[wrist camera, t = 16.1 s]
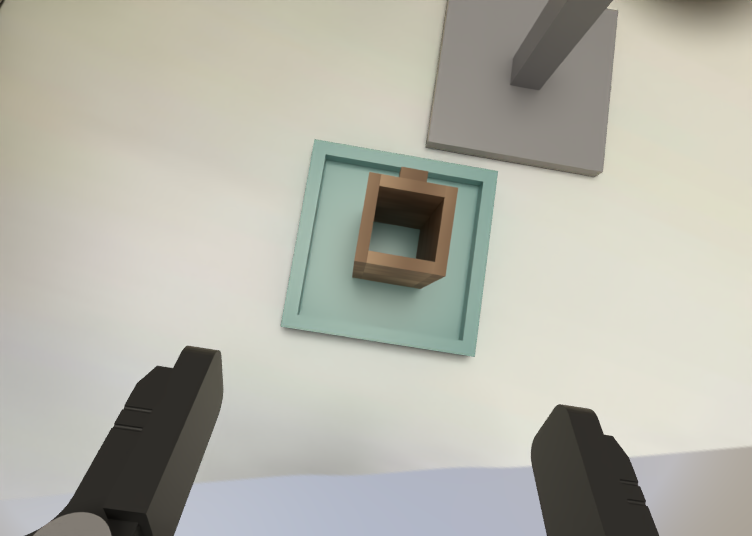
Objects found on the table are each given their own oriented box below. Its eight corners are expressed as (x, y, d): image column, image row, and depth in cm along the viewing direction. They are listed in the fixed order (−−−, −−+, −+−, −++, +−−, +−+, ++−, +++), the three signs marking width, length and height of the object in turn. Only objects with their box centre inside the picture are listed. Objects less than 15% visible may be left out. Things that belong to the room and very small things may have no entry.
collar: (352, 277, 35) (354, 260, 26) (365, 200, 36) (371, 158, 27) (420, 289, 35) (445, 276, 26) (432, 212, 36) (460, 174, 27)
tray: (284, 326, 35) (280, 326, 33) (316, 149, 37) (314, 139, 35) (467, 355, 36) (474, 356, 34) (489, 179, 38) (497, 171, 36)
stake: (425, 147, 38) (462, 63, 26) (448, -11, 39) (493, -157, 28) (594, 176, 38) (707, 108, 26) (610, 19, 40) (721, -110, 28)
